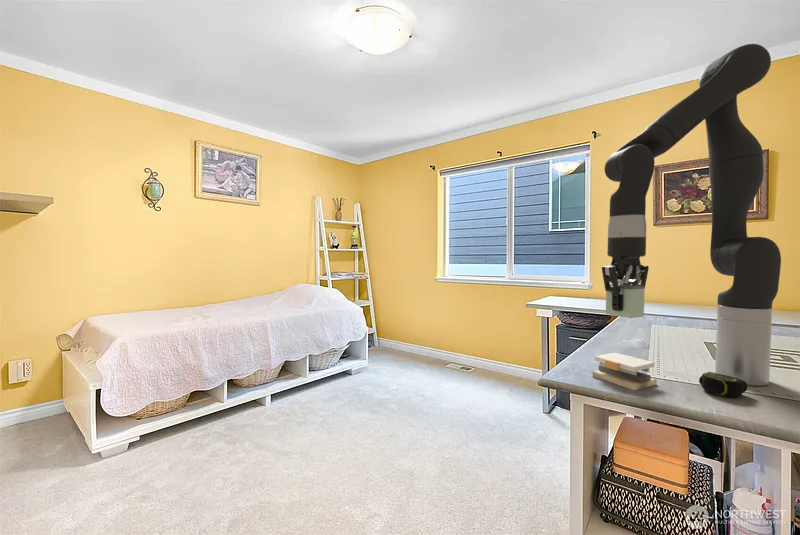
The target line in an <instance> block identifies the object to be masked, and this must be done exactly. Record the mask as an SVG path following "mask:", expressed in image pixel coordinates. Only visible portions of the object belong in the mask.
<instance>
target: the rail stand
mask: <svg viewBox="0 0 800 535" xmlns="http://www.w3.org/2000/svg"><path fill="white" fill-rule="evenodd" d="M592 377H594V378H595V379H600V380H603V381H605V382H608V383H611V384H615V385H618V386H620V387H624V388H627V389H629V390H632V391H637V390H641V389H645V388H649V387H652V386H656V385H657V383H658V382H657V378H654V377H652V376H651V375H650V374H647V373H643V372H640V371H637V375H632V374H629V373H625V372H622V371H619V370H618V371H617V370H614V369H610V368H607V367H605V366H602V365H598V370H593V371H592Z"/></svg>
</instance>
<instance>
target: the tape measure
mask: <svg viewBox="0 0 800 535" xmlns="http://www.w3.org/2000/svg"><path fill="white" fill-rule="evenodd" d="M698 382H699V384H700V386H701V388H702V389H703V390H704V391H706V392H709V393H713V394H714V395H716V396H721V397H735V398H736V397H740V396H742V395H743V394H744V393H746V392H747V391H748V385H747V384H746V382H745V381H743V380H741V379H738V378H734V377H731V376H727V375H722V374H717V373H715V372H712V371H708V372H704V373H702V374H701V376H700V377H699V379H698Z"/></svg>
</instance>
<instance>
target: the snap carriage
mask: <svg viewBox="0 0 800 535" xmlns="http://www.w3.org/2000/svg"><path fill="white" fill-rule="evenodd" d="M594 361H596V362H599V365H602V366H605V367H607V368H610V369H614V370H617V371H618V370H619V371H622V372H625V373H629V374H632V375H637V372H640V371H642V372H645V373H649V372H650V369H651V368H655V363H656V362H654V361H650V360H646V359H643V358H638V357H634V356H630V355H627V354H624V353H619V352H611V353H605V354H601V355H595V356H594ZM599 365H598V366H599Z"/></svg>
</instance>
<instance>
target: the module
mask: <svg viewBox="0 0 800 535" xmlns="http://www.w3.org/2000/svg"><path fill="white" fill-rule="evenodd" d="M611 285H612V283H610V286H611ZM618 287H620V285H618ZM645 289H646V285H645V286H638V285H632V284H631V285H626V286H624V293H623V295H624V298H623V310H622V311H616V310H613V309H612V294H611V293H610V292H609V291H606V290H605V315H608V316H615V317H621V318H626V319H635V318H636V319H637V318H642V317H643V318H644V317H645V292H646V291H645Z"/></svg>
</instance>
